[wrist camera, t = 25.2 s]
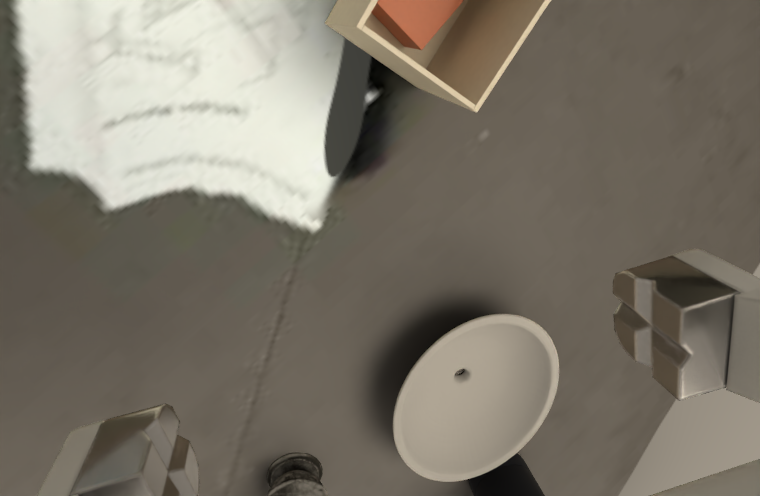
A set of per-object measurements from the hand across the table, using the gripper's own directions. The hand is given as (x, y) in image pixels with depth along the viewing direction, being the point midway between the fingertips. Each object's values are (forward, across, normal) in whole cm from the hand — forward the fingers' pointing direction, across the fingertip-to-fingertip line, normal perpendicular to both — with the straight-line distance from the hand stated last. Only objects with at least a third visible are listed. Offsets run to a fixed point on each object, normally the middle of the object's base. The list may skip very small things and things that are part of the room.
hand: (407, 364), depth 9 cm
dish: (+31, -8, +26) cm, 41 cm away
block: (+30, -8, -6) cm, 32 cm away
